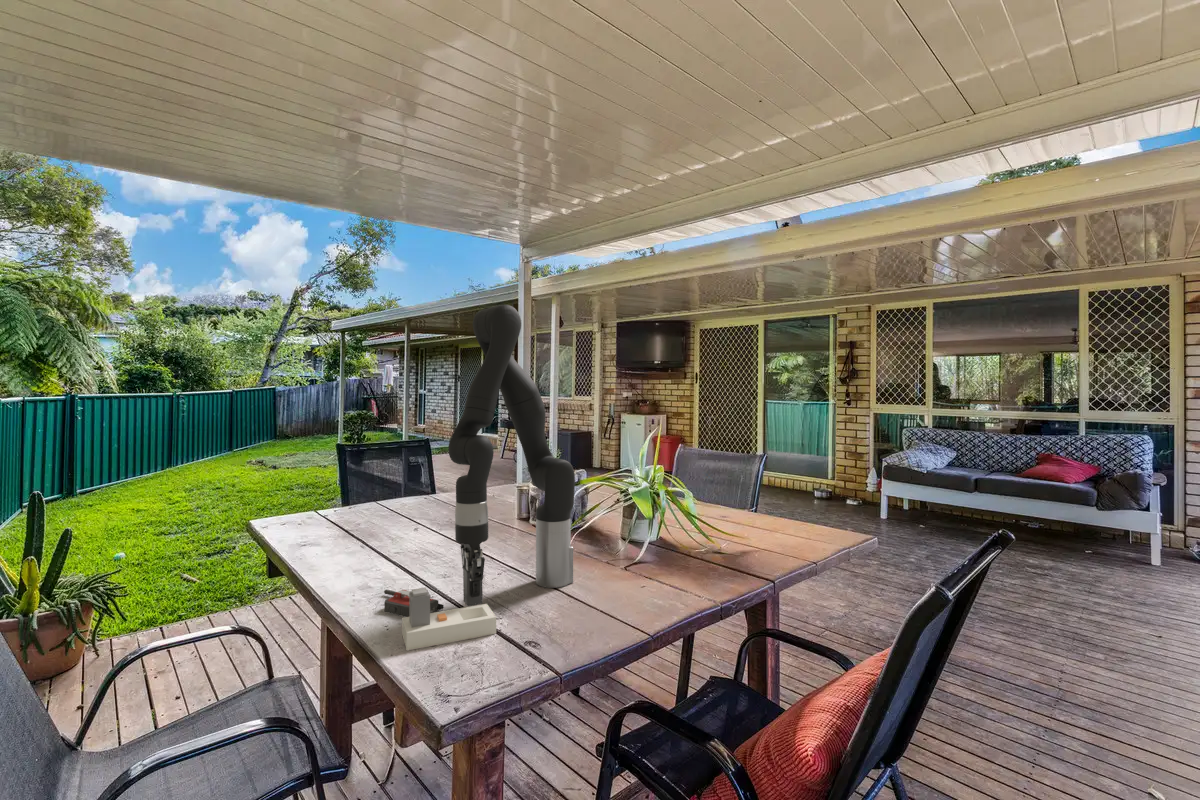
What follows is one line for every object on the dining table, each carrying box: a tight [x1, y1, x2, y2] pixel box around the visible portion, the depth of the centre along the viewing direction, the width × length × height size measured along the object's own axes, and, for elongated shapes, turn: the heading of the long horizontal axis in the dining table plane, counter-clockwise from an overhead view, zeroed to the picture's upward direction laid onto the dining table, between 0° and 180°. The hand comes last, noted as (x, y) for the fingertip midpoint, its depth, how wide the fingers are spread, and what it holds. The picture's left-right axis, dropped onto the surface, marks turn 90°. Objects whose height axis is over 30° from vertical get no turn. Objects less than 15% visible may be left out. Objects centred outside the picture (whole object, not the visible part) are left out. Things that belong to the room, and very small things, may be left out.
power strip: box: [401, 587, 497, 652], centre depth 117 cm, size 18×8×10 cm, turn 116°
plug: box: [462, 565, 484, 607], centre depth 130 cm, size 4×4×9 cm
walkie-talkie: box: [383, 589, 444, 617], centre depth 131 cm, size 9×4×20 cm
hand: (472, 593), depth 130 cm, fingers closed on plug, 3 cm apart
